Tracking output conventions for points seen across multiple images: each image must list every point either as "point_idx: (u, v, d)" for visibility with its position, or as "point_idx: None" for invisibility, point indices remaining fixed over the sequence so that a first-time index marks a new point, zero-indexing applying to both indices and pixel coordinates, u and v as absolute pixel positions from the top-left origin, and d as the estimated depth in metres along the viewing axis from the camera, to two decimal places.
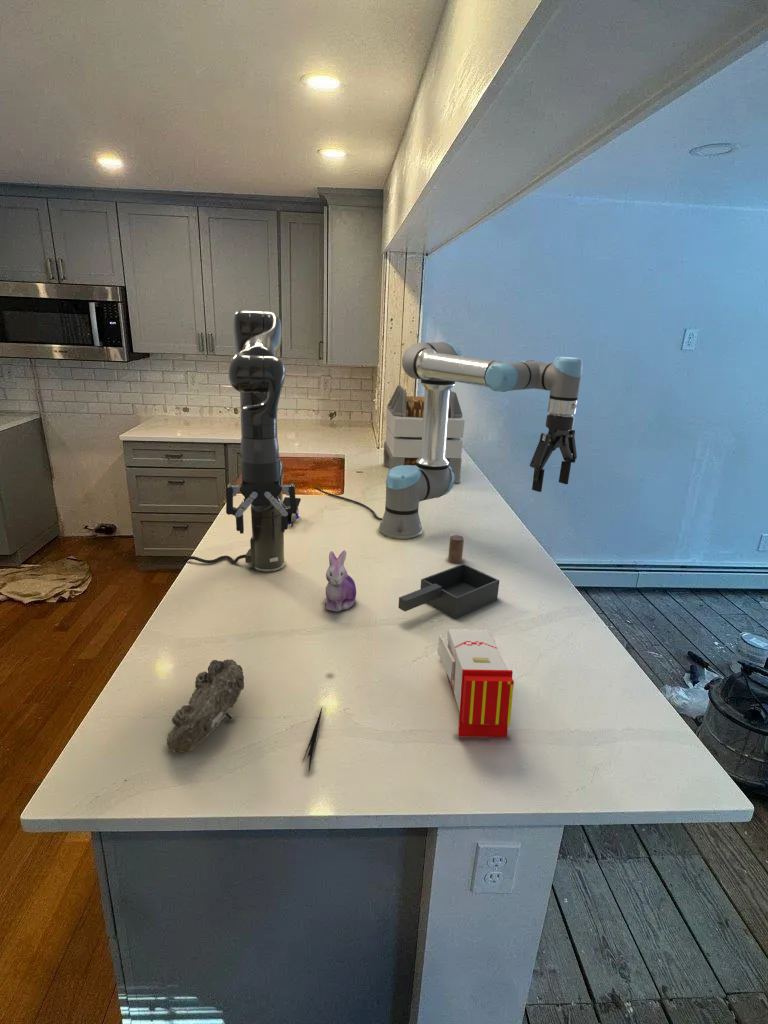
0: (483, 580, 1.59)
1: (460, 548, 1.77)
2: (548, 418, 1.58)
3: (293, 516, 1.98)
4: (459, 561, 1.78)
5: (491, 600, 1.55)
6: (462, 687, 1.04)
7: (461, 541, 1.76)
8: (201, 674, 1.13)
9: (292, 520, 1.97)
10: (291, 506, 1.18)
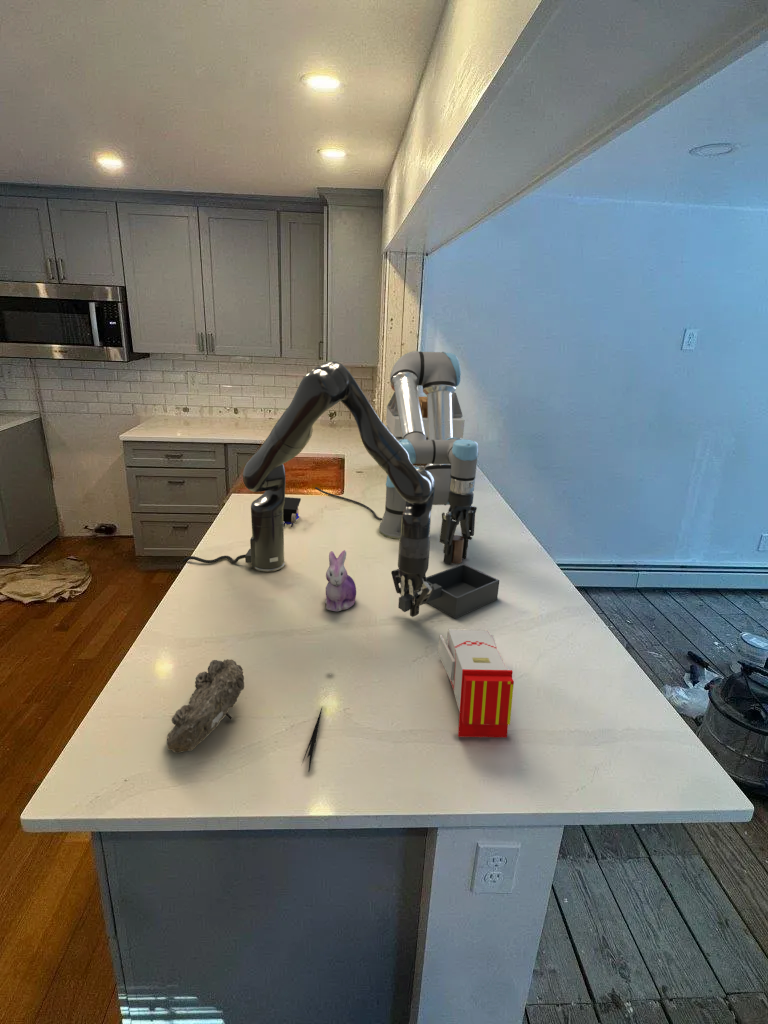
0: (483, 580, 1.59)
1: (460, 548, 1.77)
2: (449, 495, 1.72)
3: (293, 516, 1.98)
4: (459, 561, 1.78)
5: (491, 600, 1.55)
6: (462, 687, 1.04)
7: (461, 541, 1.76)
8: (201, 674, 1.13)
9: (292, 520, 1.97)
10: None
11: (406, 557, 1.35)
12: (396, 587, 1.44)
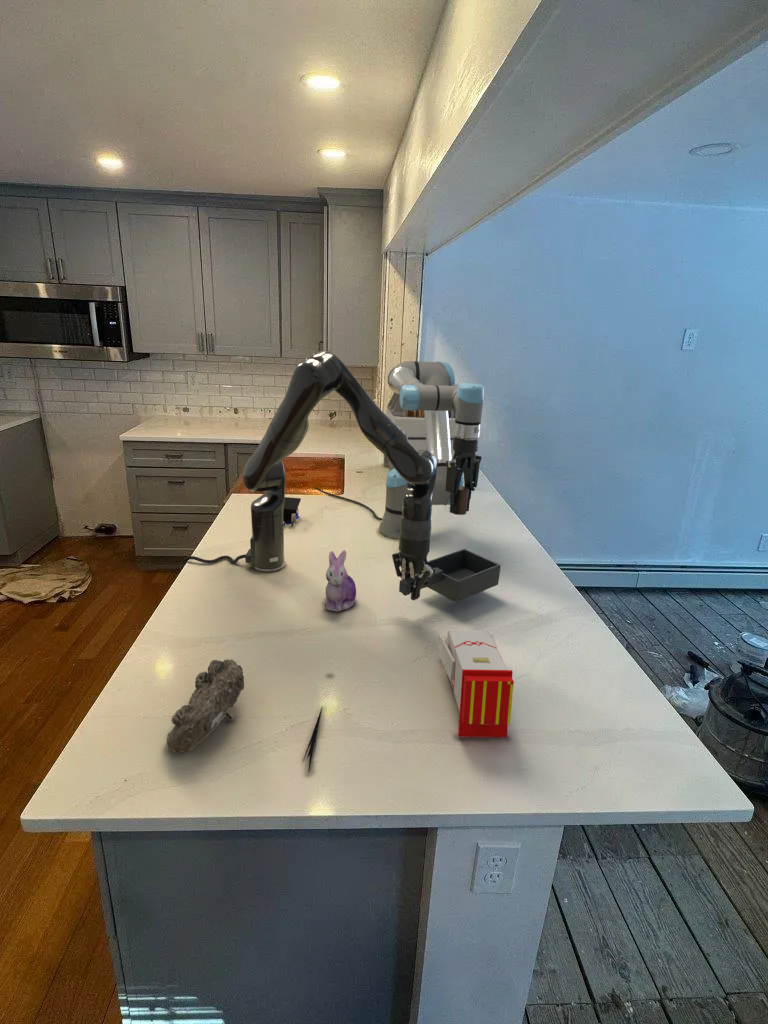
0: (484, 565, 1.58)
1: (465, 498, 1.72)
2: (454, 441, 1.66)
3: (293, 516, 1.98)
4: (464, 512, 1.73)
5: (492, 585, 1.54)
6: (462, 687, 1.04)
7: (466, 491, 1.71)
8: (201, 674, 1.13)
9: (292, 520, 1.97)
10: None
11: (407, 539, 1.34)
12: (397, 571, 1.43)
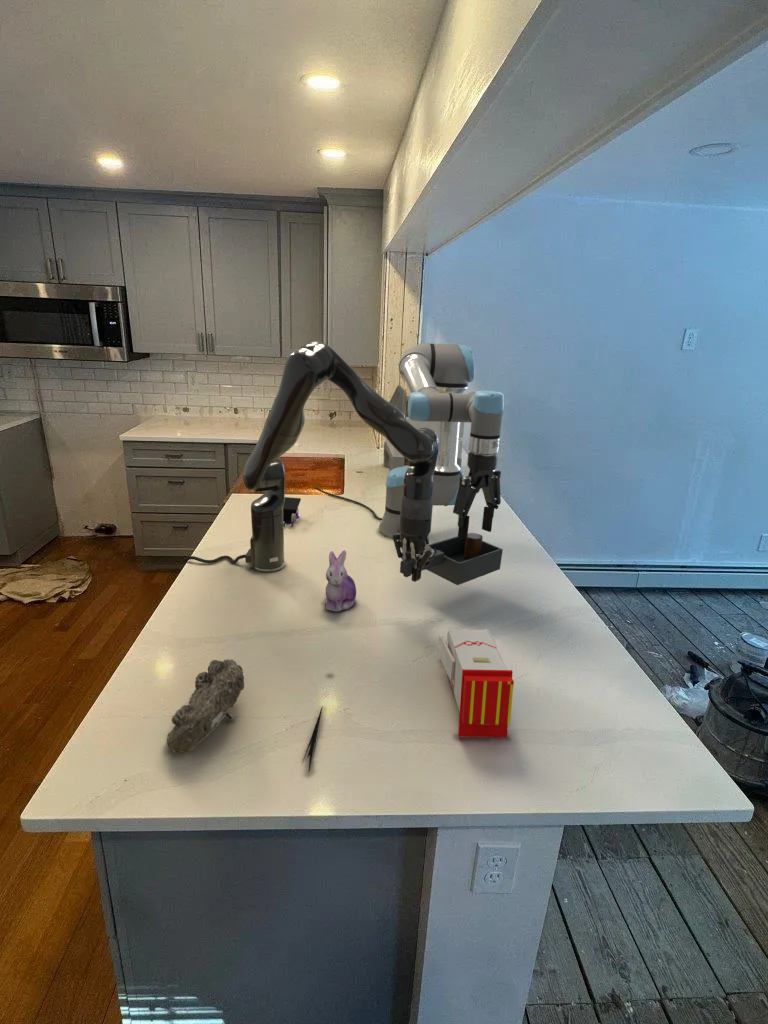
0: (486, 550, 1.56)
1: (478, 548, 1.52)
2: (469, 457, 1.45)
3: (293, 516, 1.98)
4: None
5: (494, 569, 1.52)
6: (462, 687, 1.04)
7: (479, 540, 1.51)
8: (201, 674, 1.13)
9: (292, 520, 1.97)
10: None
11: (408, 518, 1.32)
12: (398, 552, 1.41)
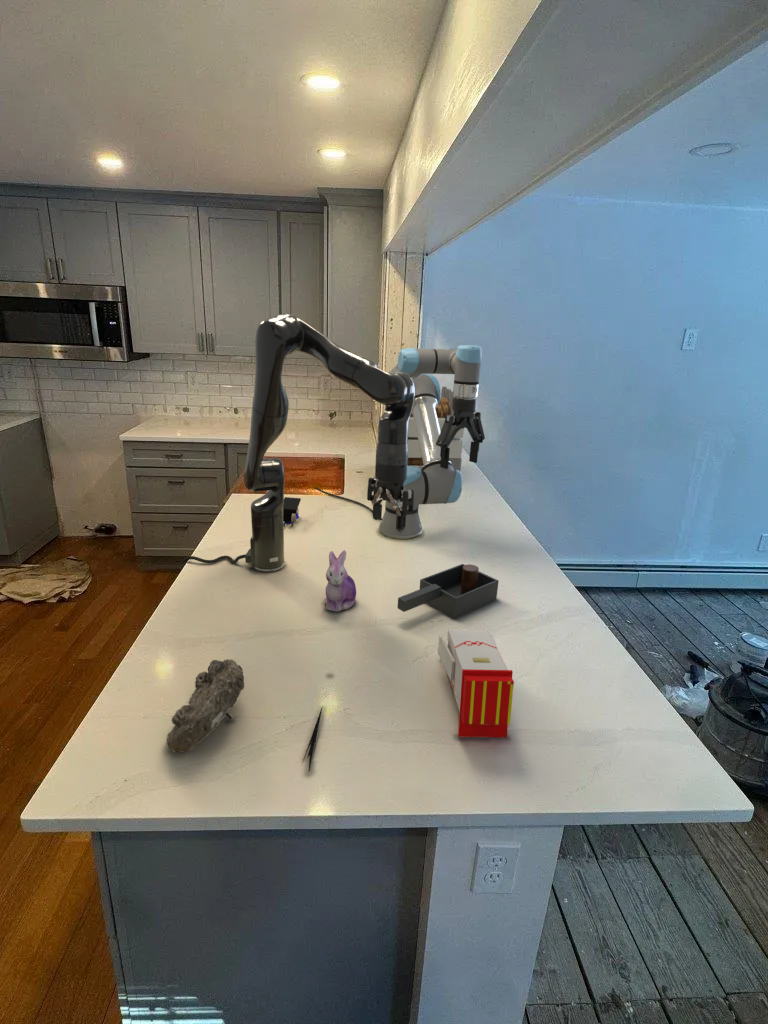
0: (483, 581, 1.59)
1: (474, 579, 1.55)
2: (453, 401, 1.73)
3: (293, 516, 1.98)
4: None
5: (490, 600, 1.55)
6: (462, 687, 1.04)
7: (476, 572, 1.54)
8: (201, 674, 1.13)
9: (292, 520, 1.97)
10: None
11: (383, 464, 1.30)
12: (368, 495, 1.40)
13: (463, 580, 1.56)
